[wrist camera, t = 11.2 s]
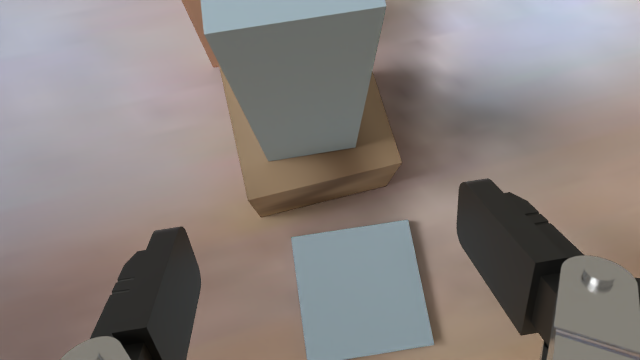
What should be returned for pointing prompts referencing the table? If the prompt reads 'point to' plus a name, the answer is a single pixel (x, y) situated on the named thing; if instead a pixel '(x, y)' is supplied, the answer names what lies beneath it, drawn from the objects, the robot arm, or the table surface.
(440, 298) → the table surface
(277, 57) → the blue block
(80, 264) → the table surface
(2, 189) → the table surface
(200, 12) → the terracotta block
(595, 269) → the robot arm
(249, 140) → the base block
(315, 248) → the swatch tile
